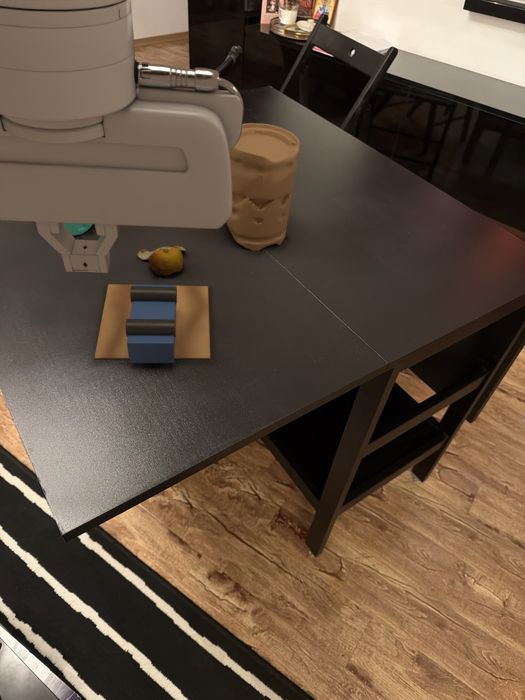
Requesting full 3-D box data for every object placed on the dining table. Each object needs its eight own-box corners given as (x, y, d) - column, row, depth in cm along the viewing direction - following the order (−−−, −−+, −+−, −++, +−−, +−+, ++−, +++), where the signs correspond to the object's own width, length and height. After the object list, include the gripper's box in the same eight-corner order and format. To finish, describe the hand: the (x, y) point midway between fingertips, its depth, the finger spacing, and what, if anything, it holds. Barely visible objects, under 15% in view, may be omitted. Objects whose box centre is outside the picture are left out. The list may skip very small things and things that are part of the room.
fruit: (182, 246, 87) (181, 229, 84) (195, 274, 82) (195, 257, 79) (136, 253, 84) (134, 235, 81) (146, 282, 79) (144, 264, 76)
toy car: (123, 335, 61) (132, 276, 69) (128, 368, 66) (135, 309, 74) (174, 335, 62) (176, 277, 70) (175, 368, 67) (177, 309, 75)
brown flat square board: (94, 359, 67) (94, 357, 66) (108, 285, 77) (108, 284, 77) (210, 359, 69) (210, 357, 69) (207, 287, 80) (208, 286, 79)
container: (298, 233, 94) (315, 142, 81) (256, 259, 86) (267, 163, 73) (250, 207, 98) (258, 117, 85) (206, 229, 91) (209, 134, 78)
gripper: (242, 54, 29) (228, 247, 39) (-138, 18, 26) (-46, 237, 36) (251, 93, 24) (233, 298, 34) (-204, 55, 21) (-78, 292, 31)
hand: (89, 267), depth 35 cm, fingers closed
